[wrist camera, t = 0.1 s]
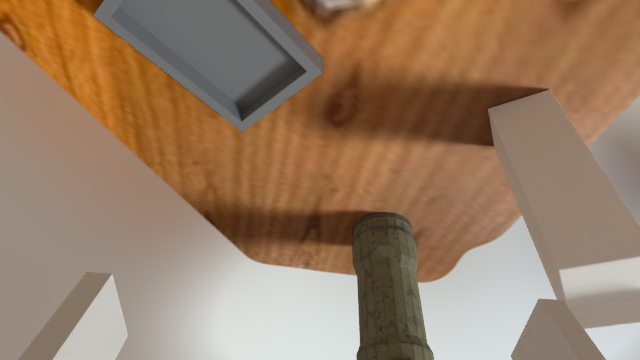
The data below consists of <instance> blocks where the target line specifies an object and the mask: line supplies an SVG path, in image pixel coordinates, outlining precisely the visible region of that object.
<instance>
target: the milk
mask: <svg viewBox="0 0 640 360" xmlns="http://www.w3.org/2000/svg"><path fill="white" fill-rule="evenodd" d="M488 113H489V119H490V125H491V131H492V137H493V143H494V148H495V150H496V152H497V155H498V157H499V160H500V162H501V165H502V167H503V169H504V172H505V174H506V177H507V179H508V182H509V184H510V186H511V189H512V191H513V194H514V196H515V198H516V201H517V203H518V206H519V208H520V211H521V213H522V215H523V218H524V220H525V223H526V225H527V228H528V230H529V232H530V235H531V237H532V240H533V242H534V244H535V247H536V249H537V252H538V254H539V257H540V259H541V261H542V264H543V266H544V269H545V271H546V274H547V276H548V278H549V281H550V283H551V286H552V288H553V291H554V293H555V295H556V298H557V300H563V301H564V303H565V304H566V305H567V307H568V308H569V309H570V311H571V312H572V314H573V315H574V316H575V318H576V319H577V321H578V322H579V323H580V325H581V326H582V327H583V329H591V328H600V327H608V326H616V325H624V324H633V323H640V225H639V224H638V222H637V221H636V219H635V218H634V216H633V215H632V213H631V212H630V210H629V209H628V207H627V206H626V204H625V203H624V201H623V199H622V198H621V196H620V195H619V193H618V192H617V190H616V189H615V187H614V186H613V184H612V183H611V181H610V180H609V178H608V177H607V175H606V174H605V172H604V171H603V169H602V167H601V166H600V165H599V163H598V161H597V160H596V158H595V157H594V155H593V154H592V152H591V151H590V149H589V148H588V146H587V145H586V143H585V142H584V140H583V139H582V137H581V136H580V134H579V132H578V131H577V129H576V128H575V126H574V125H573V123H572V122H571V120H570V119H569V117H568V116H567V114H566V113H565V111H564V110H563V108H562V107H561V105H560V104H559V102H558V101H557V99H556V97H555V96H554V94H553V93H552V91H551V90H546V91H543V92H540V93H537V94H533V95H530V96H527V97H524V98H521V99H517V100H514V101H511V102H508V103H504V104H501V105H498V106H495V107H492V108H489V109H488Z"/></svg>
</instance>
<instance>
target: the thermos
mask: <svg viewBox="0 0 640 360" xmlns="http://www.w3.org/2000/svg"><path fill="white" fill-rule="evenodd" d="M353 236H354V241H353V244H352V252H353V266H354V269H355V272H356V274H357V279H358V302H359V326H360V347H359V350H358V352H357V360H434V357H433V352H432V351H431V349H430V347H429V346H428V344H427V339H426V333H425V327H424V320H423V314H422V308H421V301H420V295H419V289H418V282H417V276H416V269H417V264H418V256H417V250H416V244H415V240H414V238H413V236H412V226H411V224H410V222H409V220H407V219H406V218H405V217H403V216H401V215H398V214H395V213H387V212H383V213H374V214H370V215H367V216H365V217H363V218H361V219H359V220H358V221H357V222H356V223H355V225H354V228H353Z"/></svg>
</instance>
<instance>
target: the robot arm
mask: <svg viewBox="0 0 640 360" xmlns="http://www.w3.org/2000/svg"><path fill="white" fill-rule="evenodd" d="M127 336H128V333H127V329H126V325H125V322H124V318H123V314H122V310H121V306H120V302H119V298H118V294H117V290H116V287H115V283H114V279H113V275H112V274H109V273H93V272H86V273H85V275H84V276H83V277H82V279H81V280H80V281H79V282H78V284H77V285H76V286H75V288H74V289H73V290H72V291H71V293H70V294H69V295H68V296H67V298H66V299H65V300H64V302H63V303H62V304H61V306H60V307H59V308H58V309H57V310H56V312H55V313H54V314H53V316H52V317H51V318H50V319H49V321H48V322H47V323H46V325H45V326H44V327H43V328H42V330H41V331H40V332H39V333H38V335H37V336H36V337H35V339H34V340H33V341H32V342H31V344H30V345H29V346H28V348H27V349H26V350H25V351H24V353H23V354H22V355H21V356H20V358H19V359H18V360H115V358H116V357H117V355H118V353H119V351H120V349H121V347H122V346H123V344H124V342H125V339H126V338H127ZM511 357H512V359H513V360H606V359H605V358H604V357H603V355H602V354H601V352H600V351H599V350H598V348H597V347H596V345H595V344H594V343H593V341H592V340H591V338H590V337H589V336H588V334H587V333H586V332H585V330H584V329H583V327H582V326H581V325H580V323H579V322H578V321H577V319H576V318H575V316H574V315H573V314H572V312H571V311H570V309H569V308H568V307H567V305H566V304H565V303H564V301H563V300H550V299H538V301H537V303H536V305H535V308H534V310H533V312H532V314H531V316H530V318H529V320H528V322H527V324H526V326H525V328H524V330H523V332H522V334H521V336H520V338H519V340H518V342H517V345H516V347H515V349H514V351H513V353H512V355H511Z"/></svg>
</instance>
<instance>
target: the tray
mask: <svg viewBox="0 0 640 360" xmlns="http://www.w3.org/2000/svg"><path fill="white" fill-rule="evenodd" d="M93 16H94V17H95V18H96V19H98V20H99V21H100V22H101V23H103V24H104V25H105V26H107V27H108V28H109V29H110V30H112V31H113V32H114V33H116V34H117V35H118V36H119V37H121V38H122V39H123V40H125V41H126V42H127V43H128V44H130V45H131V46H132V47H134V48H135V49H136V50H138V51H139V52H140V53H141V54H143V55H144V56H145V57H147V58H148V59H149V60H150V61H152V62H153V63H154V64H156V65H157V66H158V67H159V68H161V69H162V70H163V71H165V72H166V73H167V74H168V75H170V76H171V77H172V78H174V79H175V80H176V81H177V82H179V83H180V84H181V85H183V86H184V87H185V88H186V89H188V90H189V91H190V92H192V93H193V94H194V95H195V96H197V97H198V98H199V99H201V100H202V101H203V102H205V103H206V104H207V105H208V106H210V107H211V108H212V109H214V110H215V111H216V112H217V113H219V114H220V115H221V116H223V117H224V118H225V119H226V120H228V121H229V122H230V123H232V124H233V125H234V126H235V127H237V128H238V129H239V130H241V131H242V132H244V131H245V130H246V129H248V128H249V127H250V126H252V125H253V124H254V123H256V122H257V121H258V120H260V119H261V118H262V117H264V116H265V115H266V114H268V113H269V112H271V111H272V110H273V109H275V108H276V107H277V106H279V105H280V104H281V103H283V102H284V101H285V100H287V99H288V98H289V97H291V96H292V95H293V94H295V93H296V92H298V91H299V90H300V89H302V88H303V87H304V86H306V85H307V84H308V83H310V82H311V81H312V80H314V79H315V78H316V77H318V76H319V75H320V74H322V73H323V58H322V56H321V55H320V54H319V53H318V52H317V51H316V50H315V49H314V48H313V47H312V46H311V45H310V43H309V42H308V41H307V40H306V39H305V38H304V37H303V36H302V35H301V34H300V33H299V32H298V31H297V29H296V28H295V27H294V26H293V25H292V24H291V23H290V22H289V21H288V20H287V19H286V18H285V16H284V15H283V14H282V13H281V12H280V11H279V10H278V9H277V8H276V7H275V6H274V5H273V4H272V2H271V1H270V0H104V1H103V2H102V4H101V5H100V6H99V8H98V9H97V11H96V12H95V13H94V15H93Z"/></svg>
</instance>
